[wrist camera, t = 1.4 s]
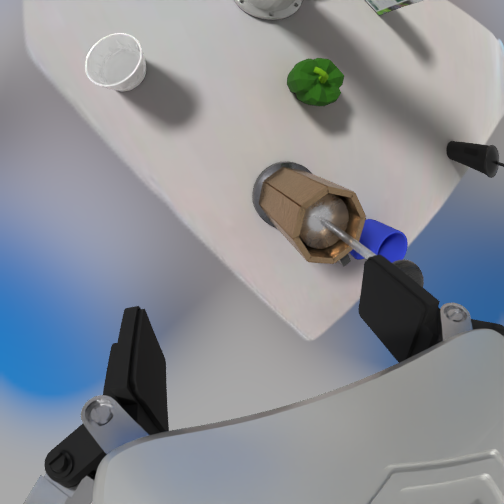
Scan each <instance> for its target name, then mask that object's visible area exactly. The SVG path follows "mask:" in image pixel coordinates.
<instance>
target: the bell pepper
mask: <svg viewBox="0 0 504 504" xmlns="http://www.w3.org/2000/svg"><path fill="white" fill-rule="evenodd" d="M343 79H344V75H343V74H342V73H341V71H340V70H339V69H338V68H337V67H336V66H335V65H334V64H333V62H332V61H331V60H329V59H323V58H316V59H314V60H312V59H306V60H303V61H301V62H299V63H297V64H296V65H295V66H294V68H293V69H292V71H291V72H290V73H289V75H288V78H287V85H288V87H289V89H290V91H291V92H293V93H296V96H297V99H299V100H300V101H302V102H303V103H306V104H308V105H314V106H325V105H328V104H330V103H333V102H335V101H336V100H337V99H338V97H339V96H340V94H341V92H340V90H339V87H340V86H341V85H342V83H343Z"/></svg>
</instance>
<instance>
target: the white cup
mask: <svg viewBox="0 0 504 504" xmlns="http://www.w3.org/2000/svg"><path fill="white" fill-rule="evenodd" d="M85 70H86V74H87V76H88V78H89V79H90V80H91V81H92V82H93V83H94V84H96V85H99V86H102V87H105V88H108V89H112V90H118V91H121V92H123V91H129V90H132V89H134V88H135V87H137V86H138V85H139V84H140V83H141V82H142V81H143V79H144V78H145V74H146V70H147V68H146V61H145V57H144V54H143V51H142V48H141V45H140V43H139V41H138V40H137V39H136V38H135V37H133V36H131V35H129V34H125V33H116V34H111V35H108V36H106V37H104V38H102V39H101V40H100V41H98V42H97V43H96V44H95V45H94V46H93V47H92V49H91V50H90V52H89V53H88V56H87V58H86V63H85Z"/></svg>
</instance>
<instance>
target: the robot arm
mask: <svg viewBox="0 0 504 504" xmlns="http://www.w3.org/2000/svg"><path fill="white" fill-rule="evenodd" d="M234 1H235V2H236V4H237V5H238V6H239V7H240V8H241V9H242V10H243V11H245V12H247V13H248V14H250V15H252V16H254V17H258V18H261V19H266V20H278V19H283V18H287V17H289V16H291V15H292V14H293V13H295V12H296V11H297V10H298V9H299V7H300V5H301V3H302V0H234ZM240 2H242V3H240ZM269 15H270V16H269ZM438 305H439V301H438V300H437V299H436V298H434V297H433V296H432V295H431V294H430V293H429V292H427V291H426V290H425V289H424V288H423V287H421V286H420V285H419V284H418V283H417V282H415V281H414V280H413V279H412V278H410V277H409V276H408V275H407V274H405V273H404V272H403V271H402V270H400V269H399V268H398V267H396V266H395V265H394V264H393V263H391V262H390V261H389V260H387V259H386V258H385V257H383V256H382V255H375V256H371V257H369V258H368V259H367V261H366V262H365V264H364V273H363V281H362V289H361V296H360V304H359V314H360V316H361V318H362V319H363V320H364V321H365V323H367V325H368V326H369V327H370V328H371V329H372V331H373V332H374V333H375V334H376V335H377V337H378V338H379V339H380V340H381V342H382V343H383V344H384V345H385V346H386V348H387V349H388V350H389V351H390V352H391V354H392V355H393V356H394V357H395V358H396V360H397V361H398V362H399V363H398V364H396V365H393V366H391V367H389V368H387V369H385V370H383V371H380V372H378V373H376V374H373V375H371V376H368V377H366V378H364V379H361V380H359V381H356V382H354V383H351V384H349V385H346V386H343V387H341V388H338V389H336V390H333V391H330V392H327V393H324V394H321V395H318V396H316V397H313V398H309V399H307V400H303V401H300V402H297V403H293V404H290V405H287V406H283V407H280V408H276V409H273V410H269V411H265V412H261V413H257V414H253V415H249V416H244V417H240V418H236V419H231V420H226V421H221V422H217V423H211V424H206V425H201V426H195V427H189V428H183V429H179V430H172V431H169V427H168V412H167V392H166V391H167V390H166V362H165V358H164V355H163V353H162V350H161V348H160V346H159V343H158V341H157V338H156V336H155V334H154V331H153V329H152V326H151V324H150V321H149V318H148V316H147V313H146V311H145V309H140V307H139V306H137V307H131V308H126V309H125V310H124V314H123V319H122V323H121V328H120V334H119V338H118V343H114V344H113V345H112V347H111V351H110V356H109V362H108V368H107V373H106V379H105V385H104V391H103V395H100V396H96V397H93V398H92V399H90V400H89V401H88V402H86V403H85V405H84V407H83V408H82V412H81V419H82V422H83V424H82V425H81V426H80V427H78V428H77V429H76V430H75V431H74V432H73V433H71V434H70V435H69V436H68V437H67V438H66V439H64V440H63V441H62V442H61V443H60V444H59V445H57V446H56V447H55V448H54V449H52V450H51V451H50V452H49V453H48V455H47V457H46V459H45V470H46V474H45V476H44V477H43V476H42V475H40V477H39V479H38V480H37V482H36V484H35V485H34V487H33V488H32V490H31V492H30V494H29V495H28V497H27V498H26V500H25V502H24V504H91V502H92V501H93V502H92V503H93V504H504V326H502V325H500V324H495V323H490V322H484V321H478V320H473V319H471V318H470V315H469V312H468V311H467V310H466V309H465V308H464V307H463V306H461V305H459V304H456V303H447V304H444V305H443V306H442V307H441V309H439V308H438Z"/></svg>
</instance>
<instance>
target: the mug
mask: <svg viewBox="0 0 504 504" xmlns="http://www.w3.org/2000/svg"><path fill="white" fill-rule="evenodd" d="M359 242H360V243H361V244H362V245H364V246H365V247H366V248H368V249H369V250H371V251H372V252H373V253H375V254H376V255H382V256H383V257H385V258H386V259H387V260H389V261H390V262H391V263H393V262H394V261H397V260H403V258H404V256H405V254H406V251H407V238H406V236H405V235H404V233H402V232H400V231H398V230H396V229H394V228H392V227H389V226H387V225H385V224H383V223H380V222H378V221H376V220H372V219H367V220H365V223H364V227H363V230H362V233H361V237H360V240H359ZM349 253H350V254H351V255H352V256H353V257H354V258H355V259H357V260H358V259H365V258H364V257H363V256H361V255H360V254H359V253H358V252H356V251H355V250H354V249H353V250H352V251H350V252H349Z"/></svg>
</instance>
